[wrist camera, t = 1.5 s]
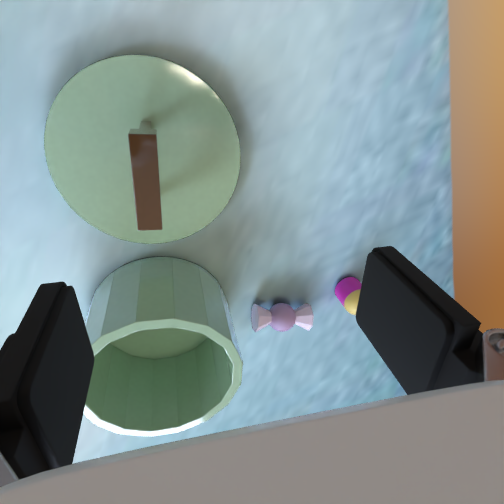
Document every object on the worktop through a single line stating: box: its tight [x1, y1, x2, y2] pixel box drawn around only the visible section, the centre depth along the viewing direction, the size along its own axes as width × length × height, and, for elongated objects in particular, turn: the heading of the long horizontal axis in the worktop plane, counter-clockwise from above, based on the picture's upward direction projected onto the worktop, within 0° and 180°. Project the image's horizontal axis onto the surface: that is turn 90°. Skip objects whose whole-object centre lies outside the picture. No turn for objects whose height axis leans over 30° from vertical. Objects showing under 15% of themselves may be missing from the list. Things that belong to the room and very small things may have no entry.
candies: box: [251, 277, 362, 332], centre depth 36 cm, size 18×8×6 cm, turn 80°
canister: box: [83, 257, 243, 437], centre depth 30 cm, size 13×13×8 cm
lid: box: [44, 55, 241, 244], centre depth 24 cm, size 14×14×6 cm
